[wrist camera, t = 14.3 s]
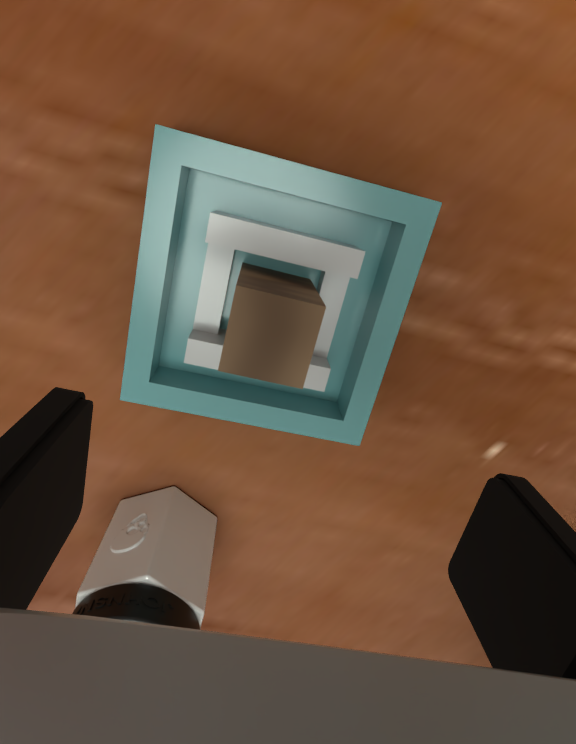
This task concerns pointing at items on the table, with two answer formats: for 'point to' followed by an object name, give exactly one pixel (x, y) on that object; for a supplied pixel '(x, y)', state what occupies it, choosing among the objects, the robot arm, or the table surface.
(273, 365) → the brown wooden block
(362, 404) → the candle dish
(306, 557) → the table surface
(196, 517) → the jar
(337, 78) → the table surface
